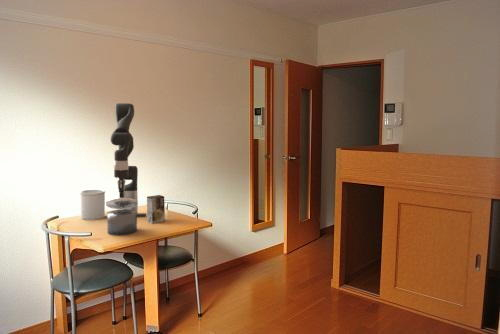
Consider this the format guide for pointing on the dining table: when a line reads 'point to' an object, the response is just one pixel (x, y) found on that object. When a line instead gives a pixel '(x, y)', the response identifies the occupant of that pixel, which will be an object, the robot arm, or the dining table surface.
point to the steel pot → (122, 221)
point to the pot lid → (122, 203)
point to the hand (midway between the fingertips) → (121, 199)
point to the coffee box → (155, 209)
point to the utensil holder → (92, 204)
